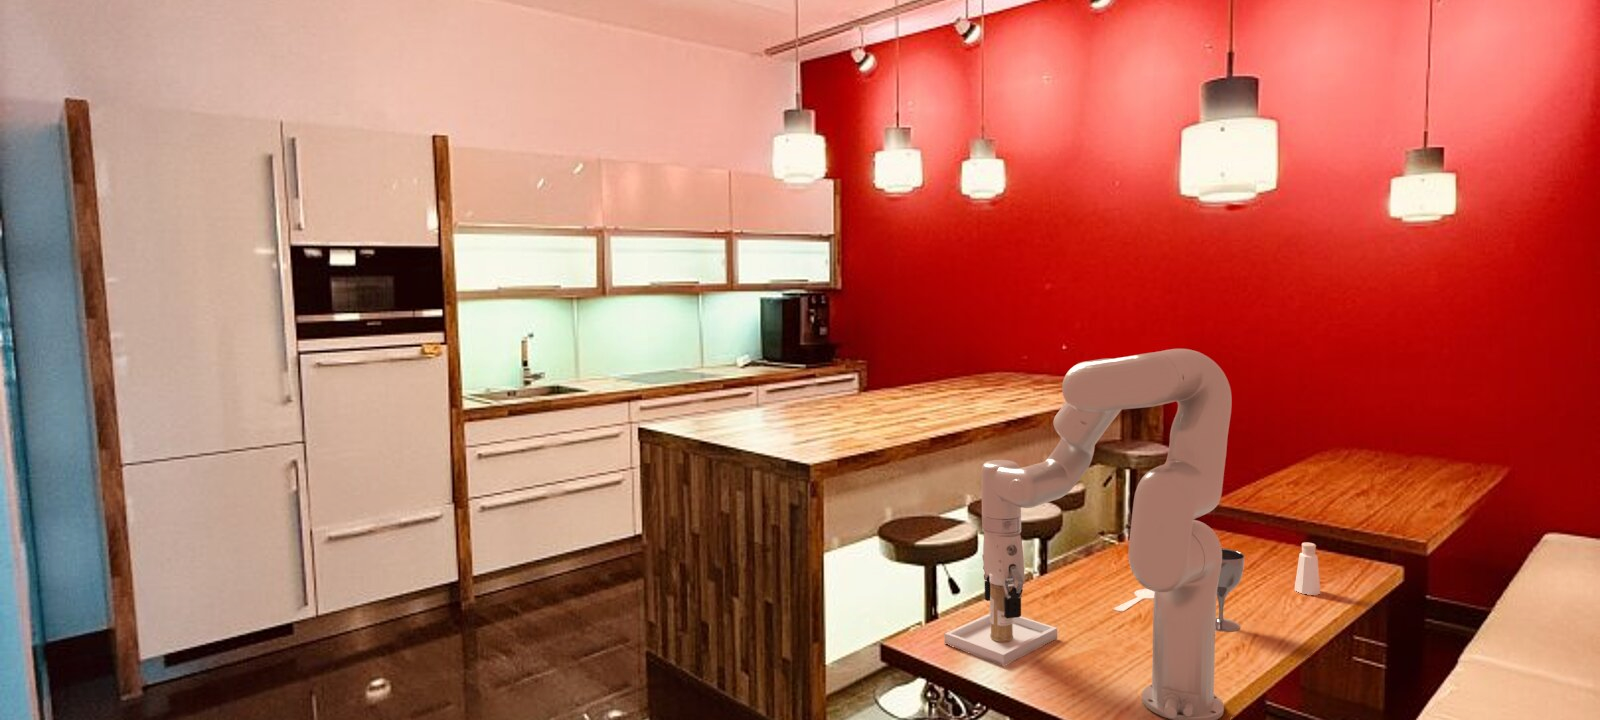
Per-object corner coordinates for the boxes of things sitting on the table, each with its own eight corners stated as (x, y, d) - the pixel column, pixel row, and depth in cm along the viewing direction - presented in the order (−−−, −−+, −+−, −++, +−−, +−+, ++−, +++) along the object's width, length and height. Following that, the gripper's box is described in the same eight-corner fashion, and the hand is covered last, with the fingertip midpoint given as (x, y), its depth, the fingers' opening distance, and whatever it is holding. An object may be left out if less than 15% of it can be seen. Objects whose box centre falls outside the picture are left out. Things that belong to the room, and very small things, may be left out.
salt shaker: (1289, 591, 201) (1290, 543, 200) (1300, 585, 204) (1301, 538, 203) (1314, 597, 196) (1316, 549, 195) (1325, 591, 200) (1327, 544, 198)
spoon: (1105, 609, 193) (1105, 606, 193) (1144, 588, 205) (1144, 586, 205) (1128, 615, 189) (1128, 613, 189) (1167, 593, 202) (1167, 591, 201)
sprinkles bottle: (1008, 644, 174) (1008, 577, 172) (986, 639, 176) (985, 574, 175) (1016, 636, 178) (1016, 571, 176) (994, 631, 180) (994, 567, 179)
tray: (1003, 666, 166) (1003, 654, 166) (944, 644, 176) (944, 633, 176) (1057, 638, 178) (1057, 627, 177) (999, 619, 188) (999, 609, 188)
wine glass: (1205, 614, 188) (1207, 545, 187) (1246, 623, 183) (1248, 552, 182) (1194, 626, 182) (1196, 555, 181) (1236, 635, 177) (1238, 562, 176)
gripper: (1038, 534, 167) (1039, 622, 168) (1001, 511, 184) (1002, 592, 185) (1001, 537, 165) (1002, 626, 167) (967, 514, 182) (968, 595, 184)
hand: (1002, 608), depth 176 cm, fingers open, 9 cm apart
